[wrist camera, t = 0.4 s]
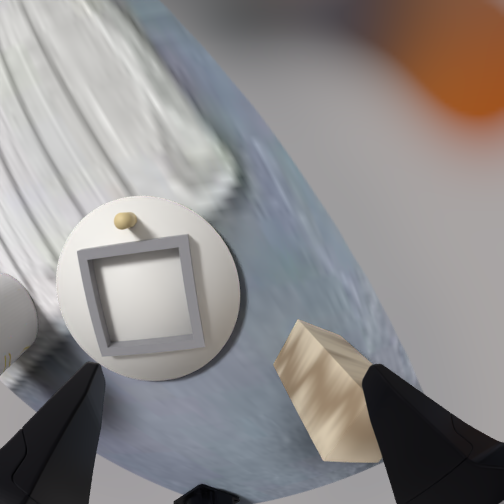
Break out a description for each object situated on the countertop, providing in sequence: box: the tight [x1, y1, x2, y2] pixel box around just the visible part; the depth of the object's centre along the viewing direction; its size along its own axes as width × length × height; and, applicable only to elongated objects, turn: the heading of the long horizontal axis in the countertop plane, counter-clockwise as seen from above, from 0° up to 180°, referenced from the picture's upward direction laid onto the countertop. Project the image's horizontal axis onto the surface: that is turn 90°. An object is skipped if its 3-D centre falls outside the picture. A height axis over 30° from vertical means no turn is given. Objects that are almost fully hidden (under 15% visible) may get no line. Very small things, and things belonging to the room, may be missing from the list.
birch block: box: [273, 319, 382, 463], centre depth 21 cm, size 5×5×13 cm
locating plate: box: [56, 196, 240, 381], centre depth 22 cm, size 16×16×4 cm
